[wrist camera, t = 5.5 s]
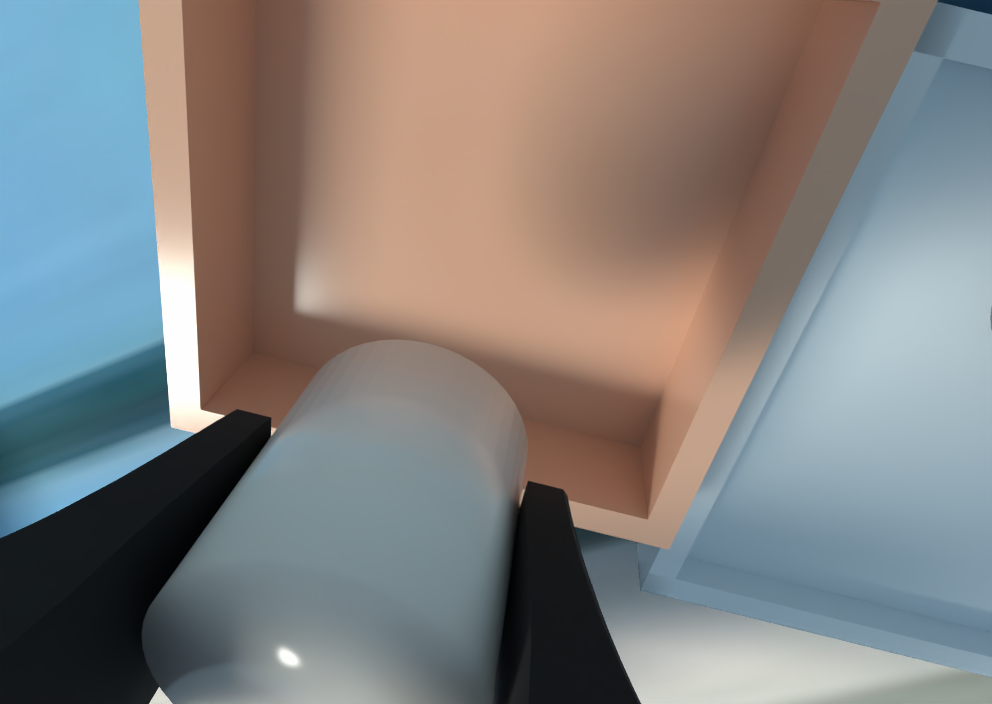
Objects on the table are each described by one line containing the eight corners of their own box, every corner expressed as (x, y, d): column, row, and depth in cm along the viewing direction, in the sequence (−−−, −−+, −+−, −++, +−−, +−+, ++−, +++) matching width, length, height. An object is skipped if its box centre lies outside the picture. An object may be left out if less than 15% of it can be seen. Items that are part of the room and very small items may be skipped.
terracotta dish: (656, 461, 19) (668, 549, 16) (237, 358, 19) (171, 426, 16) (872, -37, 13) (960, -45, 10) (232, -187, 13) (120, -241, 10)
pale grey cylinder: (504, 546, 13) (461, 815, 9) (299, 498, 13) (158, 742, 9) (550, 370, 11) (523, 616, 7) (304, 315, 11) (120, 522, 7)
